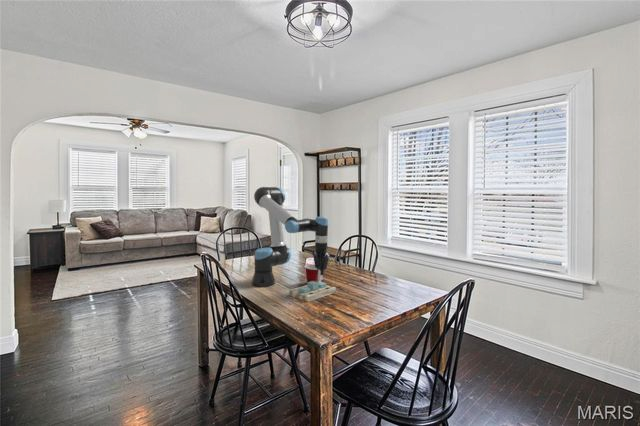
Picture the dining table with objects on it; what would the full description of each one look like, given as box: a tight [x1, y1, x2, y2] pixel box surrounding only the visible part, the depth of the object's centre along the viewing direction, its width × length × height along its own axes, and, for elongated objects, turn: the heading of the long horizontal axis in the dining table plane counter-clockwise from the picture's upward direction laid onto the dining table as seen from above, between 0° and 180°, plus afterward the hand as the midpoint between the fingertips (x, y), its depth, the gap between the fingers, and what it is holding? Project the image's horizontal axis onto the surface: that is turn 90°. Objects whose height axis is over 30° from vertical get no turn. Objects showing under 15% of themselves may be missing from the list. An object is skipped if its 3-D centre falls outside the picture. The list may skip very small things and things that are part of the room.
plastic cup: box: [304, 264, 318, 283], centre depth 213 cm, size 11×11×12 cm
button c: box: [318, 281, 327, 288], centre depth 197 cm, size 5×5×4 cm
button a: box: [298, 286, 310, 294], centre depth 187 cm, size 5×5×4 cm
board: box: [288, 284, 337, 303], centre depth 192 cm, size 16×24×3 cm, turn 137°
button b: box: [306, 281, 320, 291], centre depth 192 cm, size 5×5×4 cm
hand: (320, 279), depth 197 cm, fingers closed
